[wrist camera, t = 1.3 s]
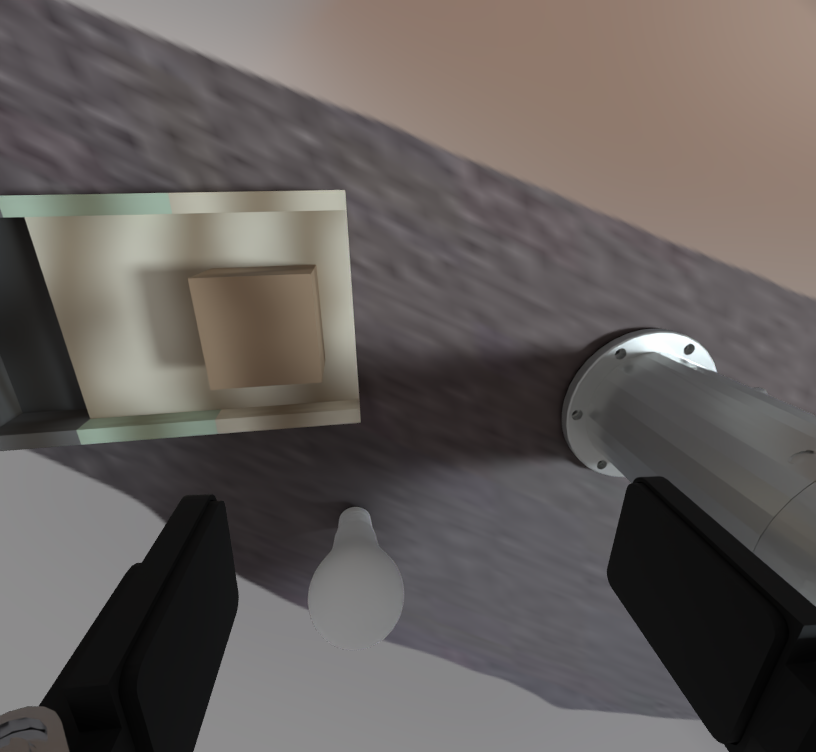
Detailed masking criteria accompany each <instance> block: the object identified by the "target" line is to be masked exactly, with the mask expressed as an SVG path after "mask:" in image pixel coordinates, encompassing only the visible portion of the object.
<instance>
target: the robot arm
mask: <svg viewBox="0 0 816 752" xmlns="http://www.w3.org/2000/svg"><path fill="white" fill-rule="evenodd" d="M562 429H563V433H564V437H565V440H566V442H567V444H568V446H569V448H570V450H571V451H572V452H573V453H574V454H575V456H576V457H577V458H578V459H579V460H580V461H581V462H582V463H583V464H584V465H586V466H587V467H588V468H590V469H591V470H593V471H595V472H597V473H600V474H604V475H607V476H613V477H626V478H627V479H628V480H629V481H630V482H631V483H632V484H629V485H628V487H627V490H626V494H625V498H624V502H623V506H622V510H621V514H620V518H619V522H618V527H617V531H616V535H615V539H614V543H613V547H612V551H611V555H610V559H609V564H608V568H607V577H608V581H609V584H610V586H611V587H612V589H613V590H614V592H615V593H616V595H617V596H618V598H619V599H620V601H621V602H622V604H623V605H624V607H625V608H626V610H627V611H628V613H629V614H630V615H631V617H632V618H633V620H634V621H635V623H636V624H637V626H638V627H639V629H640V630H641V632H642V633H643V635H644V636H645V638H646V639H647V641H648V642H649V644H650V645H651V647H652V648H653V649H654V651H655V652H656V654H657V655H658V657H659V658H660V660H661V661H662V663H663V664H664V666H665V667H666V669H667V670H668V672H669V673H670V675H671V676H672V678H673V679H674V680H675V682H676V683H677V685H678V686H679V688H680V689H681V691H682V692H683V694H684V695H685V697H686V698H687V700H688V701H689V703H690V704H691V706H692V707H693V709H694V710H695V712H696V713H697V714H698V716H699V717H700V719H701V720H702V722H703V723H704V725H705V726H706V728H707V729H708V731H709V732H710V733H711V735H712V736H713V737H714V738H715V739H716V740H717V741H718V742H720V743H722V744H724V745H725V747H726V748H727V750H728V751H729V752H816V416H815V415H813V414H811V413H809V412H806V411H804V410H802V409H799V408H797V407H795V406H793V405H790V404H788V403H786V402H783V401H781V400H779V399H777V398H774V397H772V396H770V395H768V394H767V392H766V390H764V389H763V388H759V387H756V388H751V387H749V386H747V385H744V384H742V383H740V382H738V381H735V380H733V379H731V378H728V377H726V376H724V375H722V374H719V373H717V370H716V367H715V364H714V361H713V359H712V358H711V356H710V354H709V353H708V351H707V350H706V349H705V348H704V347H703V346H702V345H701V344H700V343H699V342H698V341H696V340H694V339H692V338H690V337H688V336H687V335H684V334H681V333H678V332H675V331H673V330H666V329H659V328H656V329H643V330H639V331H635V332H631V333H628V334H625V335H623V336H621V337H618V338H616V339H614V340H612V341H611V342H609V343H608V344H606V345H605V346H603V347H602V348H600V349H599V350H598V351H597V352H596V353H594V354H593V355H592V356H591V357H590V358H589V359H588V360H587V361H586V362H585V363H584V365H583V366H582V367H581V368H580V370H579V371H578V372H577V374H576V375H575V377H574V379H573V381H572V382H571V384H570V386H569V388H568V391H567V394H566V396H565V399H564V403H563V409H562ZM238 598H239V597H238V588H237V581H236V574H235V568H234V561H233V554H232V548H231V541H230V534H229V528H228V521H227V514H226V508H225V503H224V502H223V501H217V500H216V497H215V496H214V495H213V494H211V495H187V496H184V497H183V498H182V500H181V501H180V503H179V504H178V506H177V508H176V509H175V511H174V512H173V514H172V516H171V517H170V519H169V520H168V522H167V524H166V525H165V527H164V528H163V530H162V532H161V533H160V535H159V536H158V538H157V539H156V541H155V543H154V544H153V546H152V547H151V549H150V551H149V552H148V554H147V555H146V557H145V559H144V560H143V562H142V563H136V564H134V565H133V566H131V568H130V569H129V570H128V571H127V573H126V574H125V576H124V577H123V578H122V580H121V581H120V583H119V585H118V586H117V588H116V589H115V591H114V593H113V594H112V595H111V597H110V598H109V600H108V601H107V603H106V604H105V606H104V607H103V609H102V611H101V612H100V613H99V615H98V617H97V618H96V620H95V621H94V623H93V624H92V626H91V627H90V629H89V630H88V632H87V633H86V635H85V636H84V638H83V639H82V641H81V642H80V644H79V646H78V647H77V649H76V650H75V652H74V653H73V655H72V656H71V658H70V659H69V661H68V662H67V664H66V665H65V667H64V668H63V670H62V671H61V673H60V675H59V676H58V678H57V679H56V681H55V682H54V684H53V685H52V687H51V688H50V690H49V691H48V693H47V694H46V696H45V697H44V699H43V701H42V702H41V703H40V705H39V706H27V707H24V708H20V709H17V710H13V711H9V712H7V713H5V714H3V715H0V752H193V751H194V748H195V744H196V741H197V738H198V735H199V731H200V728H201V725H202V722H203V719H204V716H205V712H206V709H207V706H208V703H209V700H210V696H211V693H212V689H213V687H214V683H215V680H216V677H217V674H218V670H219V667H220V664H221V661H222V658H223V654H224V651H225V648H226V645H227V642H228V638H229V635H230V632H231V629H232V626H233V622H234V619H235V616H236V613H237V607H238Z"/></svg>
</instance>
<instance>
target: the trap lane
mask: <svg viewBox="0 0 816 752" xmlns="http://www.w3.org/2000/svg"><path fill="white" fill-rule="evenodd" d="M293 265H316V266H317V277H318V287H319V297H320V308H321V318H322V328H323V339H324V349H325V366H324V373H323V380H322V382H321V383H306V384H291V385H276V386H262V387H247V388H232V389H217V390H211V389H210V384H209V380H208V375H207V370H206V365H205V360H204V355H203V350H202V345H201V341H200V336H199V331H198V326H197V321H196V316H195V311H194V307H193V302H192V297H191V292H190V287H189V282H188V278H190V277H192V276H195V275H197V274H200V273H202V272H204V271H207V270H209V269H211V268H237V267H265V266H293ZM349 423H361V417H360V401H359V386H358V372H357V357H356V343H355V328H354V313H353V299H352V284H351V269H350V255H349V240H348V225H347V211H346V196H345V190H315V191H254V192H194V193H133V194H72V195H12V196H0V451H7V450H20V449H33V448H45V447H58V446H71V445H83V444H96V443H109V442H121V441H134V440H147V439H159V438H172V437H185V436H197V435H210V434H223V433H235V432H248V431H261V430H273V429H286V428H299V427H311V426H324V425H337V424H349Z"/></svg>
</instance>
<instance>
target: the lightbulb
mask: <svg viewBox="0 0 816 752" xmlns="http://www.w3.org/2000/svg"><path fill="white" fill-rule="evenodd" d="M403 603H404V585H403V580H402V577H401V574H400V572H399V569H398V567H397V565H396V564H395V562H394V561H393V560H392V559H391V558H390V557H389V555H388V554H387V553H386V552H385V551H384V550H382V549H381V548H380V546H379V545H378V542H377V538H376V533H375V531H374V529H373V528H372V522H371V518H370V514H369V513H368V511H366V510H365V509H363V508H361V507H351V508H348V509H346V510H345V511H343V512H342V514H341V515H340V518H339V524H338V530H337V532H336V534H335V537H334V544H333V547H332V550H331V551H330V553H329V554H328V555H327V556H326V557H325V558H324V559H323V561H322V562H321V563H320V565H319V566H318V567H317V569H316V571H315V572H314V575H313V577H312V580H311V583H310V586H309V593H308V607H309V613H310V617H311V619H312V623H313V625H314V627H315V628H316V630H317V631H318V632H319V634H320V635H321V636H322V637H323V638H324V639H325V640H326V641H327V642H329V643H330V644H332V645H333V646H335V647H337V648H340V649H343V650H362V649H366V648H370V647H372V646H374V645H376V644H378V643H379V642H381V641H382V640H383V639H384V638H385V637H386V636H387V635H388V634H389V633H390V632H391V631H392V630H393V628H394V627H395V625H396V623H397V622H398V620H399V617H400V615H401V612H402V608H403Z"/></svg>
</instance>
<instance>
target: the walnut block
mask: <svg viewBox="0 0 816 752" xmlns="http://www.w3.org/2000/svg"><path fill="white" fill-rule="evenodd" d="M188 282H189V287H190V292H191V297H192V302H193V307H194V311H195V316H196V321H197V326H198V331H199V336H200V341H201V345H202V350H203V355H204V360H205V365H206V370H207V375H208V380H209V384H210V389H211V390H217V389H232V388H247V387H262V386H276V385H291V384H306V383H321V382H322V380H323V373H324V366H325V349H324V339H323V328H322V318H321V308H320V297H319V287H318V277H317V266H316V265H293V266H265V267H237V268H211V269H209V270H207V271H204V272H202V273H200V274H197V275H195V276H192V277H190V278H188Z"/></svg>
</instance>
